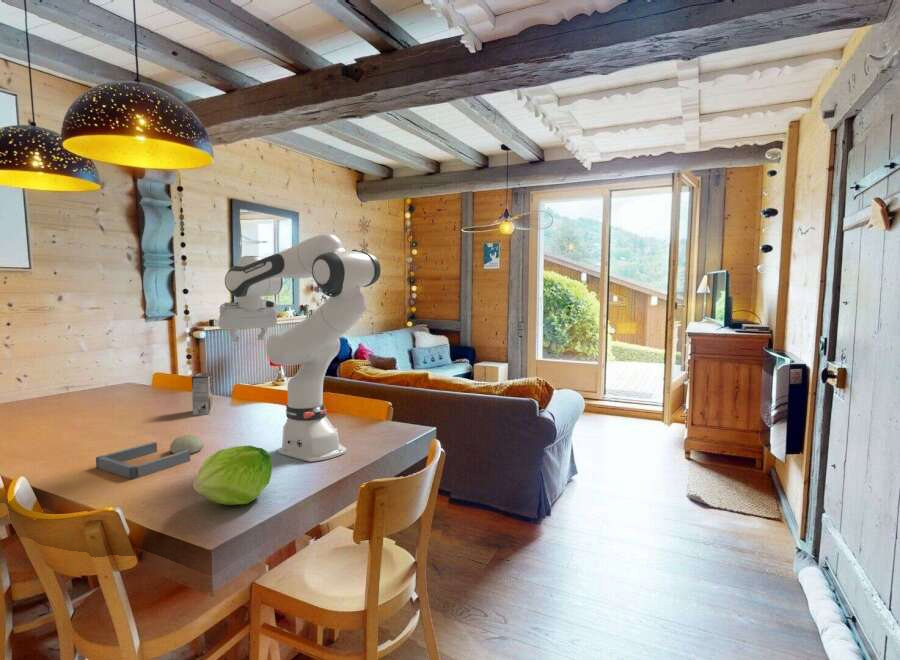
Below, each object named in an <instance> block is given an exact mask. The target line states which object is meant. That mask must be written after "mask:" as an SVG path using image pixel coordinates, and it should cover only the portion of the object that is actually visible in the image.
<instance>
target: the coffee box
mask: <svg viewBox="0 0 900 660" xmlns="http://www.w3.org/2000/svg"><path fill="white" fill-rule="evenodd" d="M191 391H192V392H191V394H192V395H191V397H192V398H191V399H192V401H191V402H192V416H200V415H210V414H211V412H212V411H213V410H214V404H213V374H212V372H196V373H195V374H193V375H192V376H191Z"/></svg>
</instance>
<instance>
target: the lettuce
mask: <svg viewBox="0 0 900 660" xmlns="http://www.w3.org/2000/svg"><path fill="white" fill-rule="evenodd" d="M272 461H273V460H272V457H271V455H270V454H269V452H268V451H267V450H266V449H264V448H263V447H257V446H253V445H239V446H232V447H228V448H224V449H220V450H217V451H216V452H214V453H213V454H212V455H210V456H209V457H208V458H207V459H205V460H204V462H203V464H202V466H201V467H200V468H199V470H198V474H197V476H196V477H195V478H194V481H193V484H192V485H193V489H194V490H195V491H196V492H197V493H198V494H200V495H203V496H204V497H206V498H207V499H208V500H210V501H212V502H213V503H214V504H219V505H226V506H235V505H237V506H238V505H246V504H247V505H248V504H249V503H251V502H252V501H254V500H255V499H257V498H258V497H259V496H260V494H261V493H262V492H263V490H264V489H265V488H266V487H267V486H268V484H270V481H271V477H272V472H273V463H272Z"/></svg>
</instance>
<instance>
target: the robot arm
mask: <svg viewBox="0 0 900 660" xmlns="http://www.w3.org/2000/svg"><path fill="white" fill-rule="evenodd" d="M380 264H381V263H380V261H379V260H378V258H377V257H376V256H375V255H373V254H371V253H368V252H365V251H362V250H358V249H351V251H350V250H347V249H345V248H344V245H343V243H342V241H341V239H339V237H337V236H336V235H334V234H332V233H321V234H318V235H314V236H312V237H309V238H307V239H305V240H302V241H301V242H299V243H297V244H295V245H294V246H291V247H288V248H287V249H285V250H281V251H280V252H277V253H275V254H272V255H269V256H267V257H263V258H262V257H261V256H257V255H244V256H242V257H239V259H238V262H237V265H233V266H232V267H231V268H230V269H229V270H228V271H227V272H226V274H225V277H224V285H225V287H226V289H227V291H228V292H229V293H230V294H231V295H232V296H234V297H235V302H224V303H222V304H221V305H220V306H219V317H218V327H219V328H220V330H224V331H229V334H230V336H231V338H232V342H233V343H239V342H240V340H239V339H240V337H239V336H237V335H236V333H237V330H245V329H251V330H252V329H260V330H261V332H260V333H259V334H257V340H258V341H263V340H264V339H265V336H266V333H267V332H268V328H275V327H276V326H277V324H278V313H277V310H276V307H277V303H276V301H274V300H270V299H267V298H265V297H269V296H270V297H272V296H277V295H278V294H279V293H280V292H281V291H282V288H283V284H284V282H283V278H285V279H290V278H291V279H308V278H313V279H314V282H315V283H316V285H317V287H318V288H319V289H320V290H321V291H322V293H323V294H324V295H325V296H328V297H329V298H328V299H326V300H325V302H323V304H321V305H320V306H319V308H317V309H316V310H315V311H314V312H313V313H312V314H311V315H309V316H308V317H307V318H305V319H303V320H301V321H300V322H298V323H296V324H295V325H292V326H291V327H288V328H287V329H284V330H282V331H279V332H277V333H274V334H272V335H270V337H268V339H267V341H266V345H265V352H266V356H267V358H268V359H269V361H270V362H271V363H272V364H274V365H279V366H280V365H281V366H297V365H300V366H299V369H298V371H296V374H294V375H293V376H292V377H290V379H289V380H288V381H287V382H288V383H287V405H286V407H285V415H286V418H287V419H286V422H285V423H284V425H283V429H282V441H281V442H282V443H281V447H280V448H278V454H280V455H284V456H287V457H291V458H295V459H297V460H301V461H305V462H308V463H309V462H310V463H311V462H320V461H325V460H329V459H332V458H335V457H339V456H341V455H343V454H346V452H348V451H347V447H345V446H343V445H342V444H341V443H340V439H339V430H338V428H337V427H336V428H335V427H334V425H332V423H331V422H330V421H329V419H328V418H327V413H328V412H327V411H328V409H327V408H326V407H325V404H324V402H323V398H324V395H323V394H324V393H323V391H324V380H325V376H326V373H327V370H328V368H329V366H330V365H331V362H332V361H333V360H334V359H335V357H337V356H338V355H339V353H340V350H341V340H340V339H341V338H342V337H343V336H344V335H345V334H346V333H347V332H349V331H350V330H351V329H352V328H353V327H354V326H355V324H357V323H358V321H360V319H361V318H362V316H363V315H364V313H365V311H366V309H367V300H366V298H365V296H364V294H363V293H362V292H361V288H367V287H369V286H371V285H374V284H375V283H376V282H377V281H378V280H379V279H380V276H381V265H380Z"/></svg>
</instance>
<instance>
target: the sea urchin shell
mask: <svg viewBox="0 0 900 660" xmlns="http://www.w3.org/2000/svg"><path fill="white" fill-rule="evenodd" d="M204 445H205V441H204V440H203V439H202V437H200V436H197V435H194V434H185V435H184V434H183V435H179V436H177V437H175V438H174V439H173V440H172V442H171V443H170V445H169V447H170V448H169V449H170V451H171V453H172V454H176V453H179V452H182V451H186V450H188V451H190V455H192V454H194V453H197V452H199V451H201V450H202V449H203V448H204Z"/></svg>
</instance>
